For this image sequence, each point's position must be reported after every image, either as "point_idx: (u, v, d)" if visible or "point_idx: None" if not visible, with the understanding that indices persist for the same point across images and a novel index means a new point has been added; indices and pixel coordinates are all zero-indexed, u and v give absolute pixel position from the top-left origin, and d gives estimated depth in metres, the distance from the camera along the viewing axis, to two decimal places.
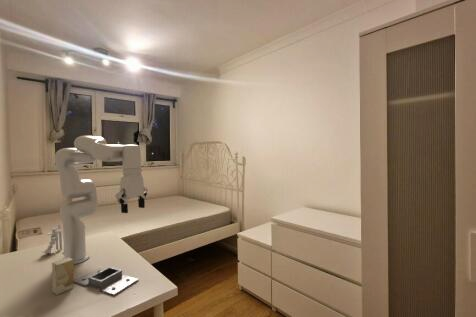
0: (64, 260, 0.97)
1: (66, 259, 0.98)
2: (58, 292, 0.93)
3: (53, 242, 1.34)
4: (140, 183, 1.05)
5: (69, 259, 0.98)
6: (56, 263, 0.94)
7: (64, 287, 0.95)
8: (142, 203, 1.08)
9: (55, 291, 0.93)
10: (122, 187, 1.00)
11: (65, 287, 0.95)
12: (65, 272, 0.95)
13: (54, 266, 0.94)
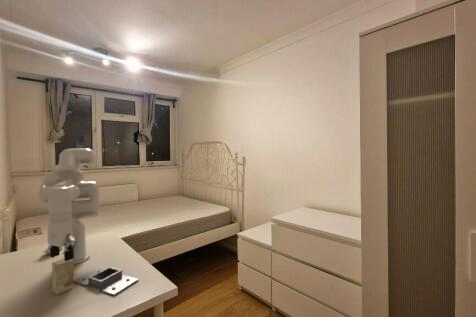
0: (64, 260, 0.97)
1: None
2: (58, 292, 0.93)
3: None
4: None
5: None
6: (56, 263, 0.94)
7: (64, 287, 0.95)
8: (57, 250, 0.98)
9: (55, 291, 0.93)
10: (66, 233, 0.93)
11: (65, 287, 0.95)
12: (65, 272, 0.95)
13: (54, 266, 0.94)
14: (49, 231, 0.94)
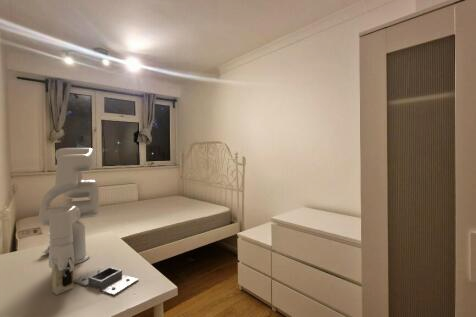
0: None
1: None
2: (58, 292, 0.93)
3: None
4: None
5: None
6: None
7: (64, 287, 0.95)
8: None
9: (55, 291, 0.93)
10: (68, 257, 0.94)
11: (65, 287, 0.95)
12: None
13: (54, 266, 0.94)
14: (50, 254, 0.95)
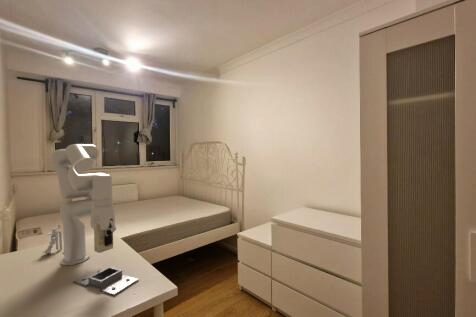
0: None
1: None
2: (100, 251, 0.98)
3: (53, 242, 1.34)
4: None
5: None
6: None
7: (105, 246, 1.00)
8: None
9: (97, 250, 0.99)
10: (109, 217, 0.99)
11: (106, 246, 1.01)
12: None
13: (96, 226, 0.99)
14: (92, 216, 1.00)
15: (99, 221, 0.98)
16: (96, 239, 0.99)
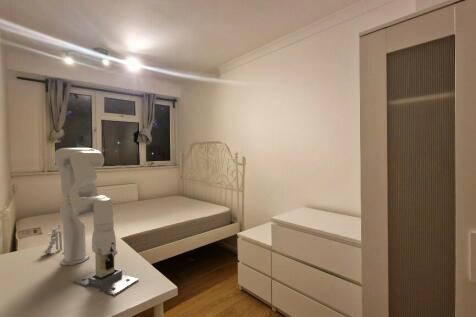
0: None
1: None
2: (102, 275, 0.99)
3: (53, 242, 1.34)
4: None
5: None
6: None
7: (107, 270, 1.00)
8: None
9: (99, 274, 0.99)
10: (111, 242, 0.99)
11: (108, 270, 1.01)
12: None
13: (98, 250, 0.99)
14: (94, 240, 1.00)
15: (100, 245, 0.99)
16: (97, 263, 0.99)
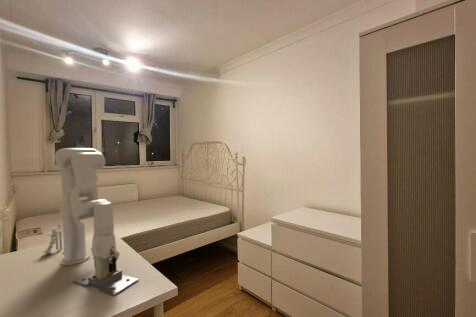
0: None
1: None
2: None
3: (53, 242, 1.34)
4: None
5: None
6: None
7: None
8: None
9: None
10: (111, 246, 0.99)
11: None
12: (107, 263, 1.01)
13: (98, 258, 0.99)
14: (94, 244, 1.00)
15: (100, 249, 0.99)
16: (97, 271, 1.00)
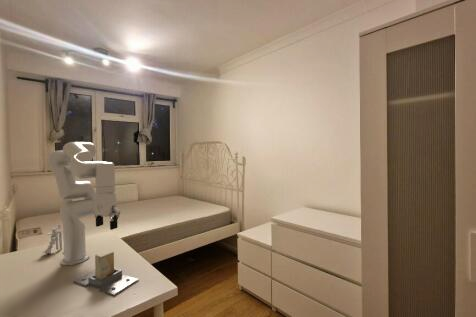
0: (106, 252, 1.03)
1: (106, 251, 1.04)
2: None
3: (53, 242, 1.34)
4: None
5: (110, 251, 1.04)
6: (99, 255, 1.00)
7: None
8: (102, 220, 1.07)
9: None
10: (112, 204, 1.01)
11: None
12: (107, 263, 1.01)
13: (98, 258, 0.99)
14: (96, 202, 1.03)
15: (102, 207, 1.01)
16: (97, 271, 1.00)
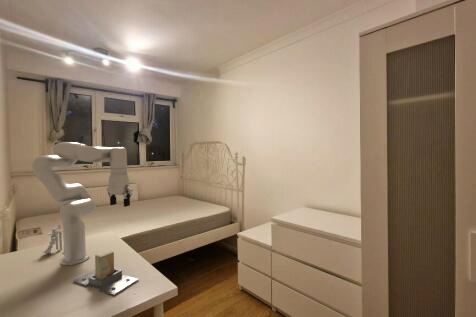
0: (106, 252, 1.03)
1: (106, 251, 1.04)
2: None
3: (53, 242, 1.34)
4: None
5: (110, 251, 1.04)
6: (99, 255, 1.00)
7: None
8: (115, 200, 1.20)
9: None
10: (125, 184, 1.14)
11: None
12: (107, 263, 1.01)
13: (98, 258, 0.99)
14: (110, 183, 1.15)
15: (116, 187, 1.14)
16: (97, 271, 1.00)
